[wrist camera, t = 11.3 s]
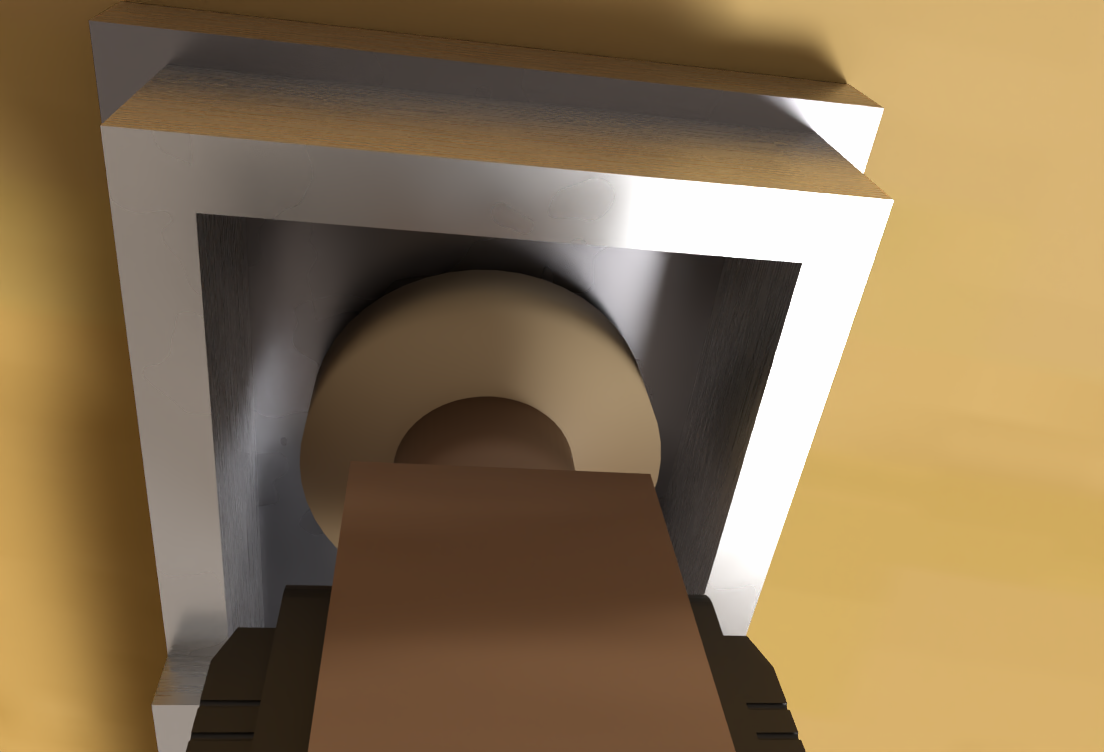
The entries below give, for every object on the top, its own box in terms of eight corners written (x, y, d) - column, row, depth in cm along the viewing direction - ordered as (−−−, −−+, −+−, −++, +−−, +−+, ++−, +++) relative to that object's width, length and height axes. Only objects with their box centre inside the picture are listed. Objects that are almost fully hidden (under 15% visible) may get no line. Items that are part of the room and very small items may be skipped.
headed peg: (309, 256, 14) (118, 879, 6) (673, 283, 15) (949, 860, 7) (312, 540, 18) (189, 1217, 9) (615, 549, 18) (757, 1173, 10)
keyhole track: (120, 1, 14) (-116, 141, 8) (849, 84, 16) (1088, 248, 10) (215, 877, 26) (149, 1186, 20) (619, 868, 28) (665, 1149, 22)
